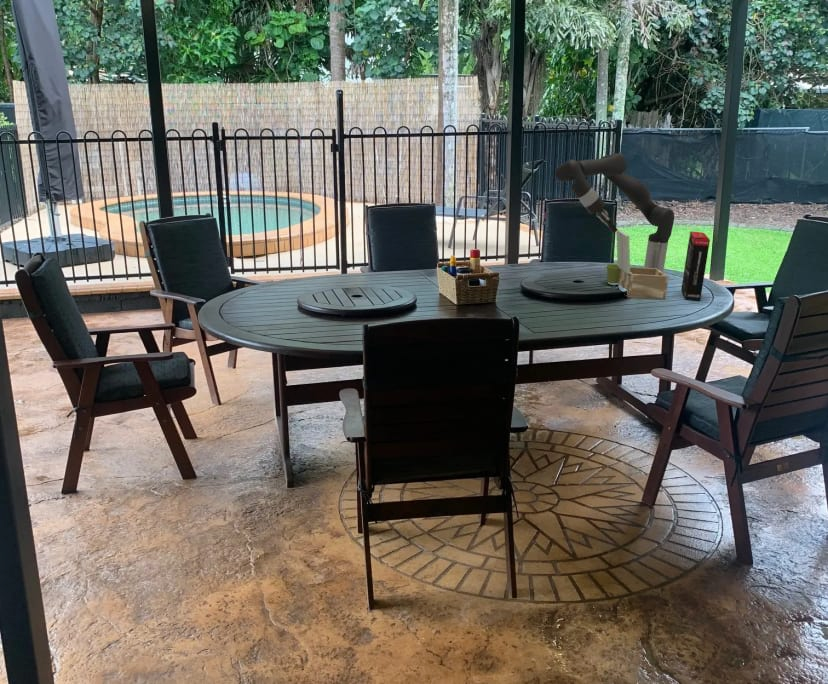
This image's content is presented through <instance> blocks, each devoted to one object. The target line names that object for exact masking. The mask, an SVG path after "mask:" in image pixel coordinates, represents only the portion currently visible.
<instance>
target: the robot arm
mask: <svg viewBox="0 0 828 684" xmlns="http://www.w3.org/2000/svg"><path fill="white" fill-rule="evenodd" d="M627 159H628V158H627V157H626V156H625V155H624V153H620V152H618V153H617V152H616V153H611V154H607V155H604V156H602V157H600V158H592V159H583V160H578V161H577V160H576V159H569V160H567V161H565V162H563V163H562V164H560V165H559V166H558V167H556V169H555V172H554V173H555V174H554V175H555V177H556V179H557V180H558V181H559V182H569V181H573V180H574V182H573V183H571V186H570V188H571V191H572V192H573V194H574V195H575V196H576V197H577V198H578V200H579V202H580V203H581V204H582V206H583V207H584V208H585V209H586V210H587V212H588V213H589V214H590V215H594V214H596V215H595V216H596V217H597V218H598V219H599V220H600V221H601V222H602V223H603V224H604V225H606V226H607V227H608V228H609V230H610V231H611V232H612V233H616V231H617V230H619V229H618V228H617V227H616V225H615V224H614V221H613V219H612V218H611V216H610V215H609V213H608V211H607V210H606V209H604V208H603V207H604V206H605V205H606V204H605V201H604V199H602V198H601V196H600V195H599V194H598V192H597V191H596V190H595V189H594V188H593V187H592V186H591V184H590V183H589V182H588V180H587V179H586V177H587V178H588V177H592V176H596V175H603V177H605V178H606V179H607V180H609V182H611V183H612V184H613V185H614V186H616V187H617V189H619V191H621V193H623V194H624V195H625V197H626V198H627V199H628V200H629V201H630V202H631V203H632V204H633V205H634V206H635V207H636V208H637V209H638V210H639V211H640V212H641V213H642V214H643V216H644V217H645V219H646V221H647V222H648V223H649V224H650V225H652V226H654V227H657V229H656V231H655V232H653V233H650V234H649V235H648V238H647V239H648V240H647V246H646V252H645V259H644V264H643V265H644V266H643V268H656V269H658V270H660V271H661V272H663V273H664V270H665V264H666V258H667V253H668V252H667V251H668V245H669V240H670V238H671V236H672V231H673V227H674V223H675V213H674V211H673V210H672V209H671V208H667V207H663V206H662V207H661V206H659V205H657V204H656V203H655V202H654V201H653V200H652V199H651V192H650V189H649V188H648V186H646V185H645V184H644V183H643V181H641V180H640V179H638V178H637V177H634V176H632V175H629V174H626V173H625V172H626V170H627V169H628V160H627Z"/></svg>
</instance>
